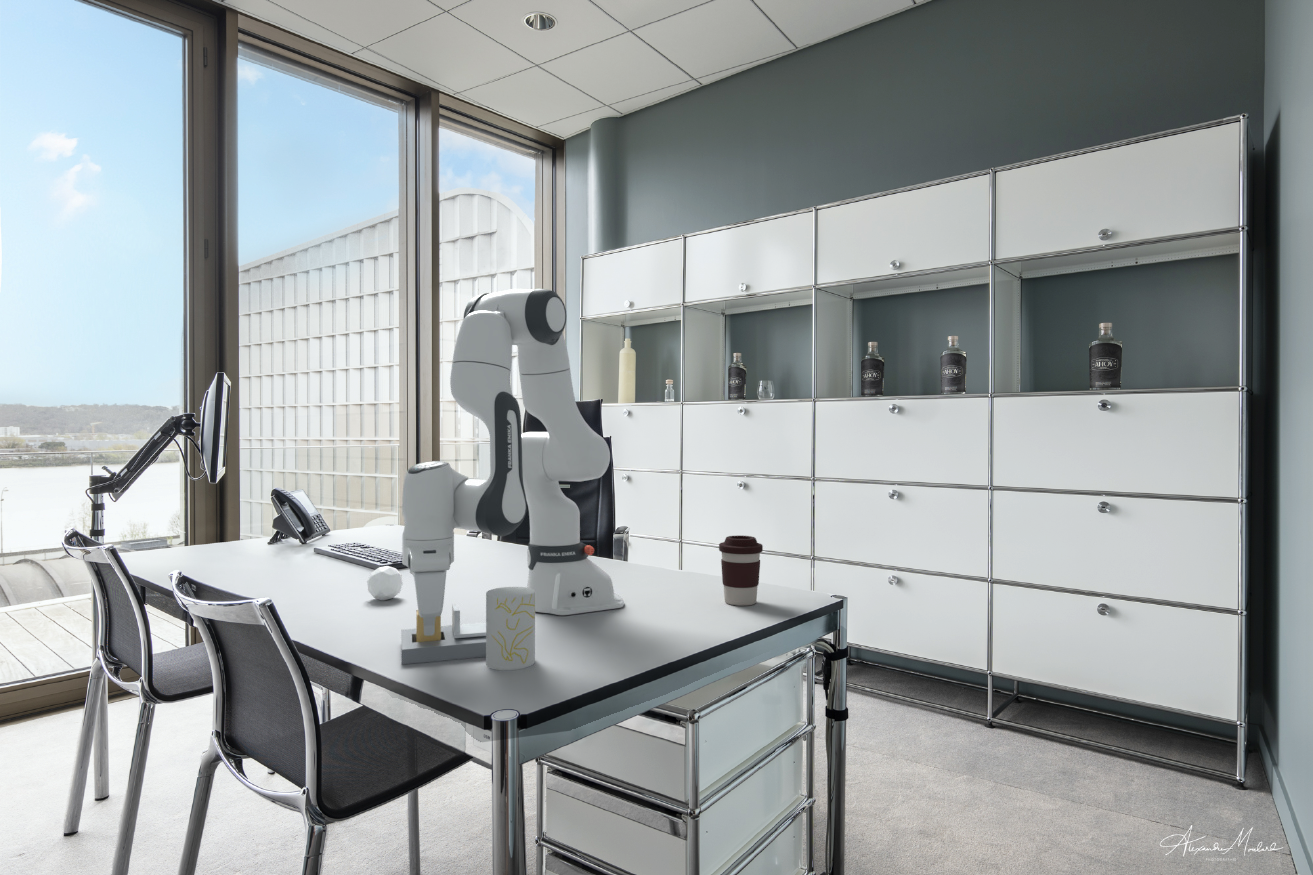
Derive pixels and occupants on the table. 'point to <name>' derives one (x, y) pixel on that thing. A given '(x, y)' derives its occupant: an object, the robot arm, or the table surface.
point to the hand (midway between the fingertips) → (428, 630)
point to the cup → (510, 628)
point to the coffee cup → (740, 569)
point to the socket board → (440, 647)
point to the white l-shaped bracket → (465, 626)
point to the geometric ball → (384, 583)
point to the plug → (420, 629)
